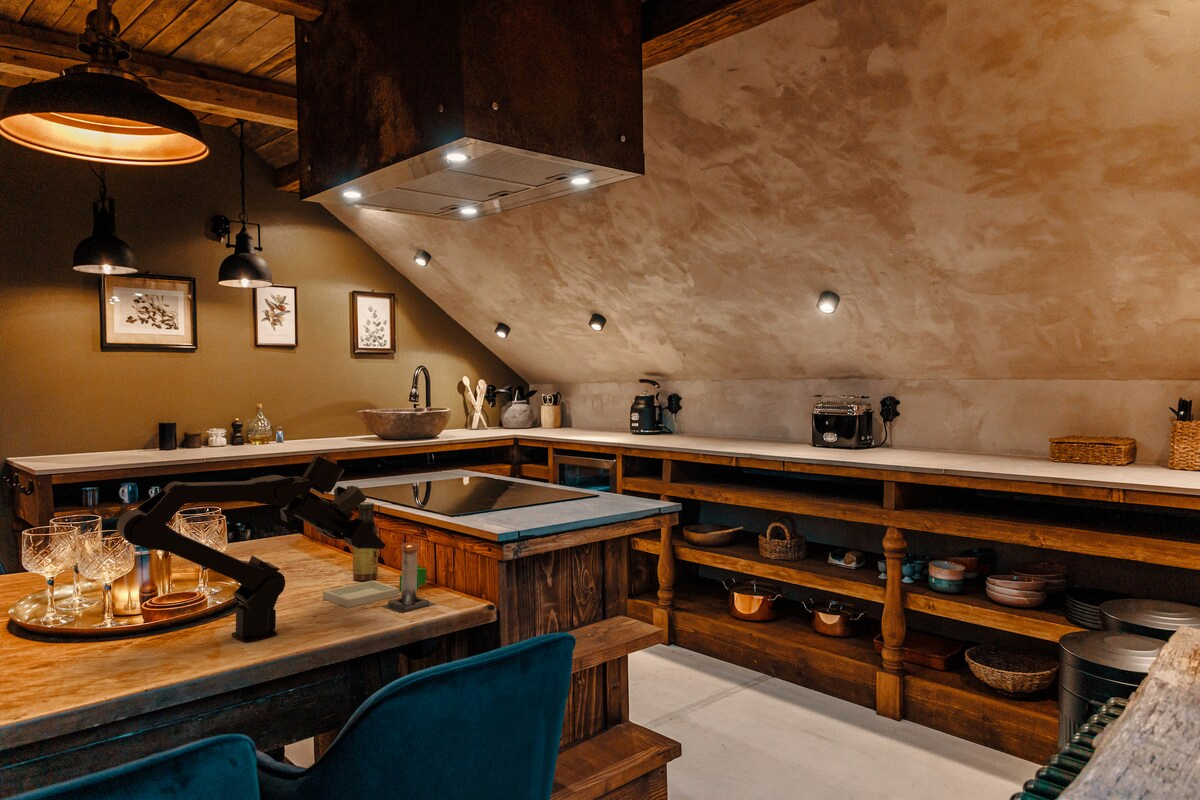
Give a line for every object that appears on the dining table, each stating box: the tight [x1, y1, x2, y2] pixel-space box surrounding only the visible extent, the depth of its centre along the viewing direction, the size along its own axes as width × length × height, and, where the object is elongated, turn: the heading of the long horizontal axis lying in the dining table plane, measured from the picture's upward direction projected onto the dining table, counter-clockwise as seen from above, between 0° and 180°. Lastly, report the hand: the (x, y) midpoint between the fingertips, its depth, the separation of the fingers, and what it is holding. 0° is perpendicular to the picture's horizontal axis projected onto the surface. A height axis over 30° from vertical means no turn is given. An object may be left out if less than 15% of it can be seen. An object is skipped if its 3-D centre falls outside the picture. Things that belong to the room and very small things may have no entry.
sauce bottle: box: [352, 501, 379, 582], centre depth 195 cm, size 6×6×20 cm
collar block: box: [379, 596, 437, 614], centre depth 172 cm, size 10×8×1 cm
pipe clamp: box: [398, 564, 427, 593], centre depth 188 cm, size 11×4×5 cm, turn 173°
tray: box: [322, 579, 400, 609], centre depth 177 cm, size 14×11×2 cm
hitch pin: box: [400, 542, 420, 605], centre depth 172 cm, size 4×4×14 cm
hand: (374, 543), depth 167 cm, fingers open, 9 cm apart
